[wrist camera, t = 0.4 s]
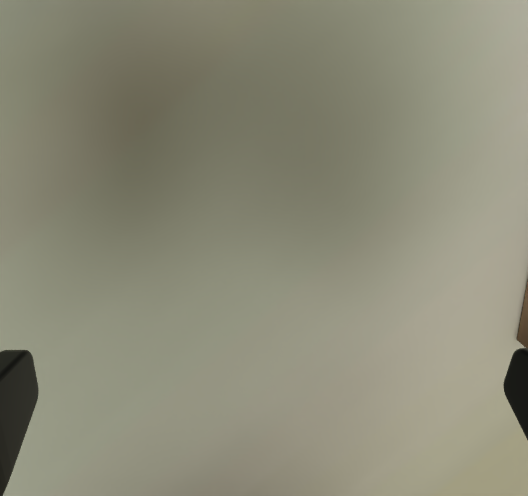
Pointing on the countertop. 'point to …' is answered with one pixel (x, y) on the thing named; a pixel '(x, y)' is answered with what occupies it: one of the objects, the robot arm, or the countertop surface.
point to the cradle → (524, 322)
